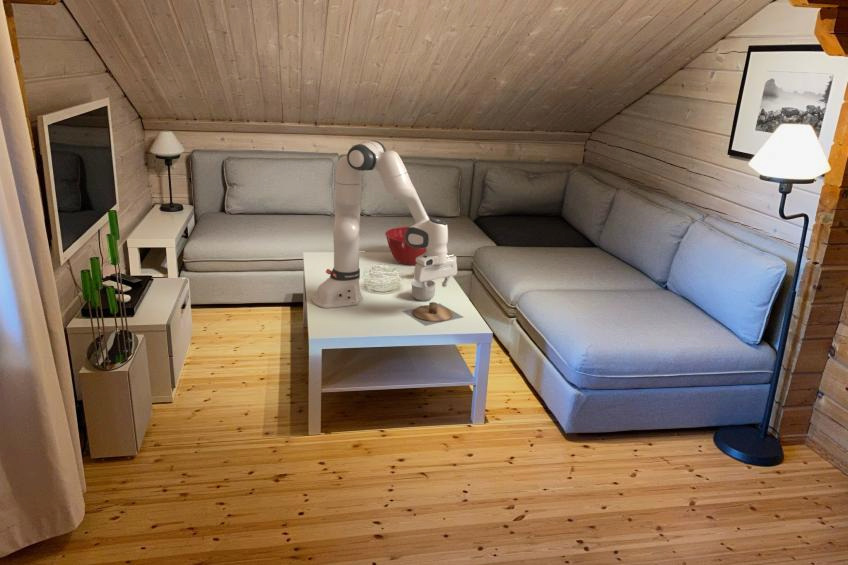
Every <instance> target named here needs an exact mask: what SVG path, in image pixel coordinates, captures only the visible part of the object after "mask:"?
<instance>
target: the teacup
mask: <svg viewBox="0 0 848 565" xmlns="http://www.w3.org/2000/svg"><path fill="white" fill-rule="evenodd" d="M426 285H427V286H429V290H427V291H425V290H424V286H423V284H422V282H417V281H416V280H415V279H414V280H413V281H412V282H411V293H412V297H413V298H414V299H416V300H417V301H421V302H428V301H430V300H432V299H433V298H434V297H435V294H436V282H435V281H434V280H430V281H427V283H426Z"/></svg>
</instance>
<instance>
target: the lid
mask: <svg viewBox="0 0 848 565" xmlns="http://www.w3.org/2000/svg"><path fill="white" fill-rule="evenodd" d="M437 304H438V302H434V301H432V302H429V304H427V305H420V306H416V307H415V309H414V308H413V309H414V310H413V315H414V316H415V317H416V318H418V319H421V320H424V321H430V322H441V321H445V322H447V321H446V320H449V319H450V318H452V316H453V313H452V311H453V310H452V309H450V308H449V307H447V308H445V307H446V306H445V307H442V306H437ZM448 308H449V309H450V310H449V309H448ZM451 310H452V311H451ZM441 323H442V322H441Z"/></svg>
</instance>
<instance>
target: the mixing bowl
mask: <svg viewBox="0 0 848 565" xmlns="http://www.w3.org/2000/svg"><path fill="white" fill-rule="evenodd" d="M409 227H410V226H399V227H394V228H391V229H388V230H386V231H385V237H386V241H387V244H388V247H389V250H390V253H391V254H392V257H393V258H394V260H396V261H397V262H398V263H400V264H402V265H406V266H415V265H416V264H417V262H416V258H417V257H418V256H420V255H422V254H424V253H425V252H426V248H412V247H410V246H409V245H408V244H407V243H406V241H405V237H404V235H405V232H406V230H407V229H408V228H409Z"/></svg>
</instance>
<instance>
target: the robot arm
mask: <svg viewBox="0 0 848 565" xmlns="http://www.w3.org/2000/svg"><path fill="white" fill-rule="evenodd" d="M373 170H375V171H376V172H377V173H378V174H379V176H380V179H381V182H382V185H383V186H384V189H385V191H386V193H387V194H388V196H389V197H391V198H393V199H396V200H399V201H401V202H403V203H405V205H406V206H407V208H408V210H409V212H410V214H411V216H412V218H413V220H414V224H412V225H411V226H408V227H409V228H408V229H407V230H406V232H405V235H404V237H405V241H406V243H407V244H408V245H409V246H410V247H412V248H426V252H425V253H424V254H422V255H420V256H418V257H417V258H416V262H417V264H416V265H414V269H413V270H414V272H413V279H414V281H415V280H416V281H417V282H422V284H423V286H424V290H425V291H427V290H429V286H427V285H426V283H427V281H430V280H432V281H434V280H439V279H444V280H443V281H441V286H442V287H443V288H446V287H447V286H448V283H449V281H450V277H454V276H456V275H457V273H458V264H457V256H456V255H455V254H453V253H452V254H448V242H449V228H448V223H447V222H446V221H445V220H444V219H441V218H437V217H436V218H435V217H430V216H429V213H428V212H427V210H426V208H425V206H424V203H423V200H422V199H421V197H420V195H419V193H418V191H417V189H416V188H415V186H414V185H413V183H412V180H411V178H410V175H409V173H408V170H407V168H406V166H405V164H404V162H403V160H402V158H401V157H400V154H398V152H397V151H395V150H386V146H384V144H383V143H382V142H380V141H378V140H367V141H362V142H361V143H358V144H354V145H353V146H352V147H350V149H349V150H348V152H347V155H344V156H341V157H340V158H339V159H338V161H337V165H336V169H335V176H334V178H335V179H334V225H333V230H332V232H333V268H332V270H331V269H329V268H327V269H326V270H325V273H326V274H327V275H329V277H328V278H326V280H325V281H324V282H322V283H320V285H318V287H317V290H316V294H315V295H312V297H311V302H312V304H314V305H316V306H318V307H320V308H324V309H333V308H340V307H351V306H357V305H358V304H359V302H360V301H362V300H363V297H362V294H361V288H360V277H361V276H360V275H361V273H360V272H361V270H360V231H361V230H360V228H361V199H362V198H361V197H362V176H363V175H362V173H363V172H364V171H373Z"/></svg>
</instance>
